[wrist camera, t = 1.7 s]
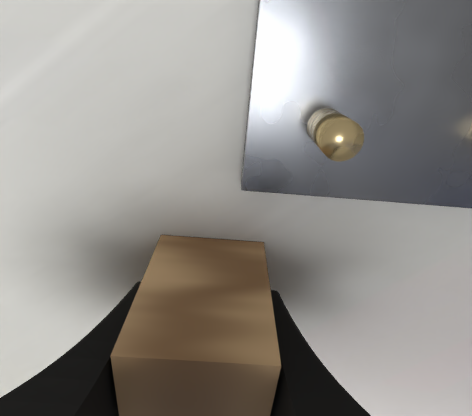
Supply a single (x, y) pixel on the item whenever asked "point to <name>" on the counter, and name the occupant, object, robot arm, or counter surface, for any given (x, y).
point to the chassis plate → (362, 101)
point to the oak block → (199, 333)
